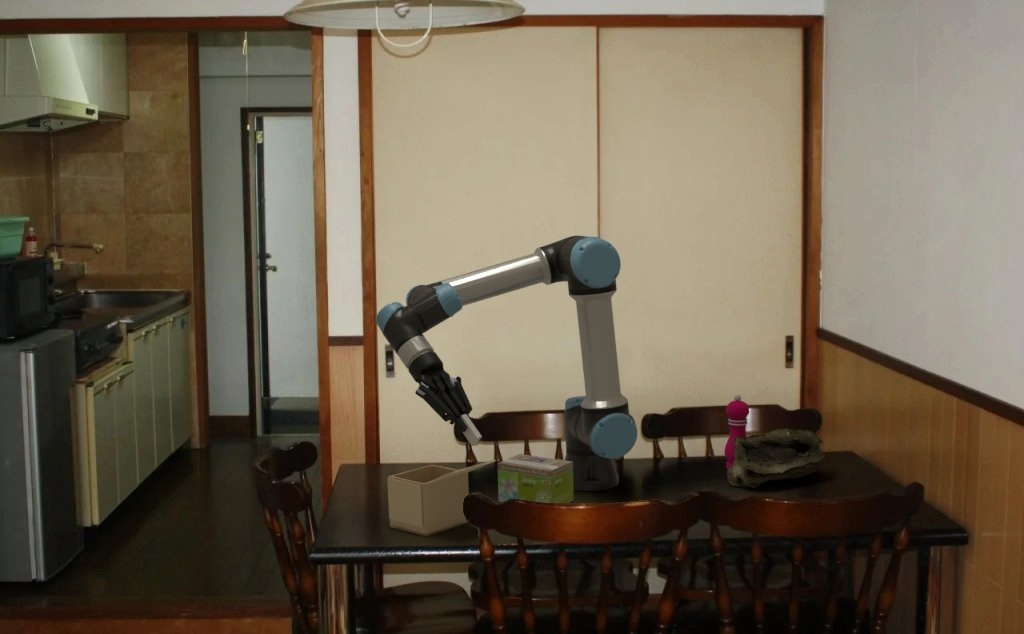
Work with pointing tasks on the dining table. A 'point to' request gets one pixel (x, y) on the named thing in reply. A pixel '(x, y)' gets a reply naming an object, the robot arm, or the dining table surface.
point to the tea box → (535, 479)
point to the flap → (460, 471)
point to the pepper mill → (735, 426)
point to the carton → (426, 500)
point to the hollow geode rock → (774, 456)
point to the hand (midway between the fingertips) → (476, 440)
